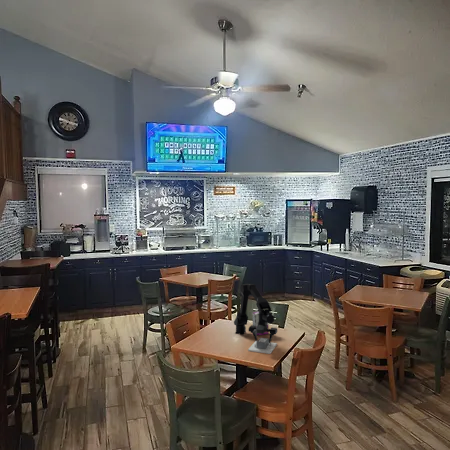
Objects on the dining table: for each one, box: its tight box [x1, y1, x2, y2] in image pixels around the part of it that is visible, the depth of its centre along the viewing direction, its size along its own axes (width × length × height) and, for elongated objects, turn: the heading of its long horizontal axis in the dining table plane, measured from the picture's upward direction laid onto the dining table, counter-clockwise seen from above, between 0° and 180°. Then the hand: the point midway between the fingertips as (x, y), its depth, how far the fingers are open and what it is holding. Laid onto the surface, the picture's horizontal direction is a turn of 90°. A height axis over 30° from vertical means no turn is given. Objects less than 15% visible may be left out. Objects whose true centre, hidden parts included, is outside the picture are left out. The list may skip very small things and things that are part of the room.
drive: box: [256, 337, 269, 349], centre depth 259 cm, size 6×10×4 cm, turn 159°
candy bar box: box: [251, 311, 270, 337], centre depth 286 cm, size 11×5×16 cm, turn 112°
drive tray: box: [247, 340, 278, 355], centre depth 259 cm, size 15×18×3 cm
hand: (262, 342), depth 259 cm, fingers open, 9 cm apart
